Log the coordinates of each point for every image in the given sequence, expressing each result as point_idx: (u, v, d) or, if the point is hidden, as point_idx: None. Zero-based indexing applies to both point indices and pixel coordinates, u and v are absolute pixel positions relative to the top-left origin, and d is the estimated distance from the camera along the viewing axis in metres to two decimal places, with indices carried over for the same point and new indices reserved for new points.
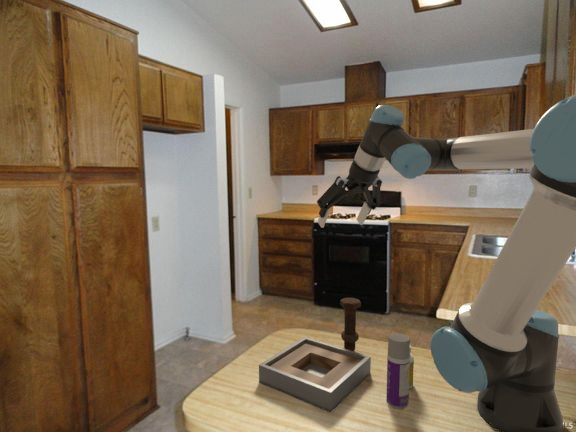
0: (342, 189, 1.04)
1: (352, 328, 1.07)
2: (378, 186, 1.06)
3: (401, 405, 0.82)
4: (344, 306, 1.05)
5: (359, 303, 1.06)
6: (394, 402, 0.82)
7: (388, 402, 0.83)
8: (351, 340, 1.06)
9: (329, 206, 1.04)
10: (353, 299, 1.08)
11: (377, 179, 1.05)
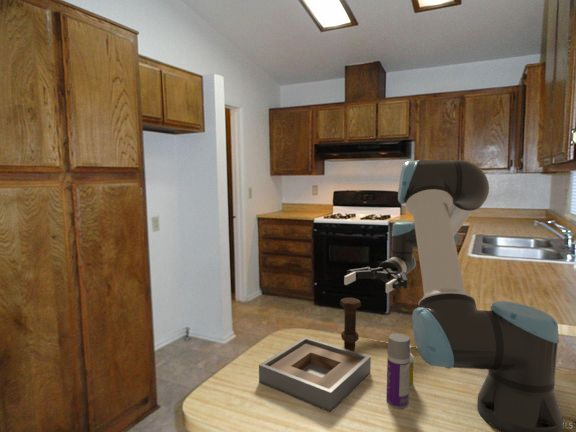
0: None
1: (352, 328, 1.07)
2: (402, 273, 1.23)
3: (401, 405, 0.82)
4: (344, 306, 1.05)
5: (359, 303, 1.06)
6: (394, 402, 0.82)
7: (388, 402, 0.83)
8: (351, 340, 1.06)
9: (355, 271, 1.25)
10: (353, 299, 1.08)
11: None
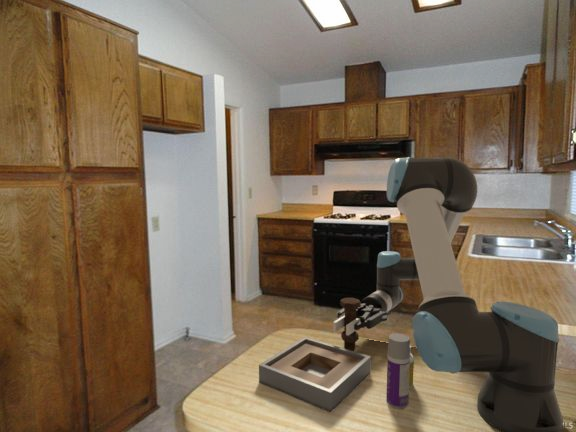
0: None
1: None
2: (381, 312, 1.12)
3: (401, 405, 0.82)
4: (344, 306, 1.05)
5: (359, 303, 1.06)
6: (394, 402, 0.82)
7: (388, 402, 0.83)
8: (351, 340, 1.06)
9: None
10: (353, 299, 1.08)
11: None
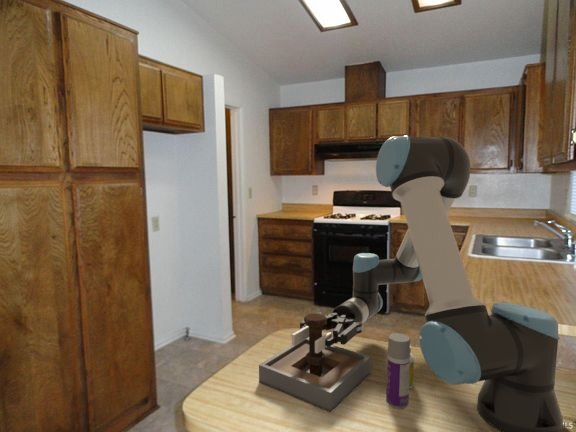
0: None
1: None
2: (355, 323, 0.98)
3: (401, 405, 0.82)
4: (307, 324, 0.91)
5: (325, 320, 0.92)
6: (394, 402, 0.82)
7: (388, 402, 0.83)
8: (316, 363, 0.92)
9: None
10: (319, 315, 0.94)
11: None
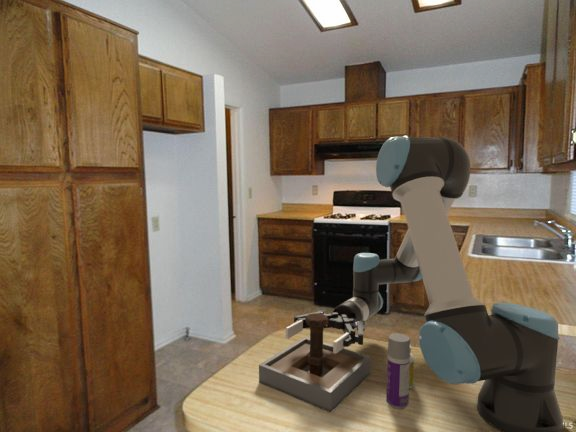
0: None
1: (318, 349, 0.92)
2: (360, 322, 0.99)
3: (401, 405, 0.82)
4: (309, 323, 0.91)
5: (326, 320, 0.92)
6: (394, 402, 0.82)
7: (388, 402, 0.83)
8: (317, 363, 0.92)
9: (303, 318, 1.01)
10: (320, 315, 0.94)
11: None
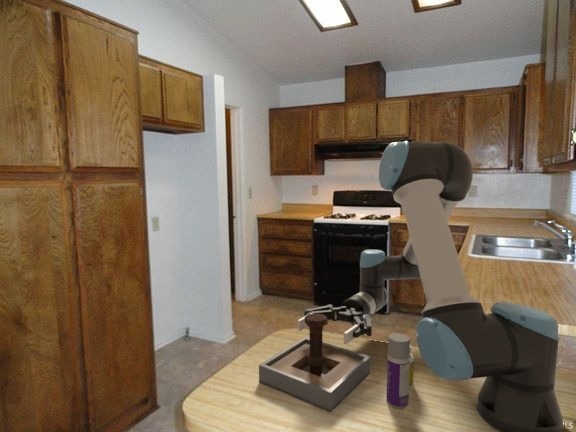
0: None
1: (318, 349, 0.92)
2: (368, 315, 1.04)
3: (401, 405, 0.82)
4: (308, 324, 0.91)
5: (326, 320, 0.92)
6: (394, 402, 0.82)
7: (388, 402, 0.83)
8: (317, 363, 0.92)
9: (313, 312, 1.06)
10: (319, 315, 0.94)
11: None
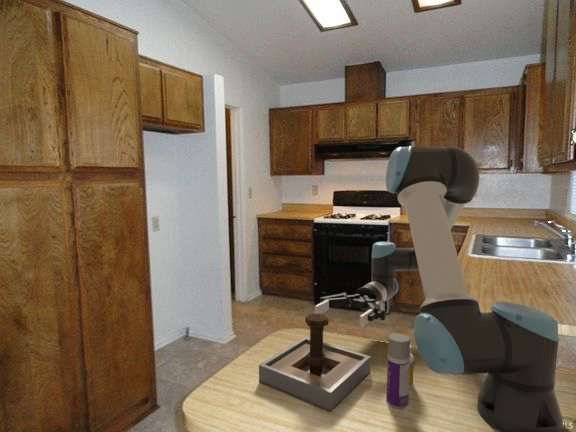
0: None
1: (318, 349, 0.92)
2: (381, 301, 1.10)
3: (401, 405, 0.82)
4: (309, 324, 0.91)
5: (326, 320, 0.92)
6: (394, 402, 0.82)
7: (388, 402, 0.83)
8: (317, 363, 0.92)
9: (329, 299, 1.12)
10: (320, 315, 0.94)
11: None
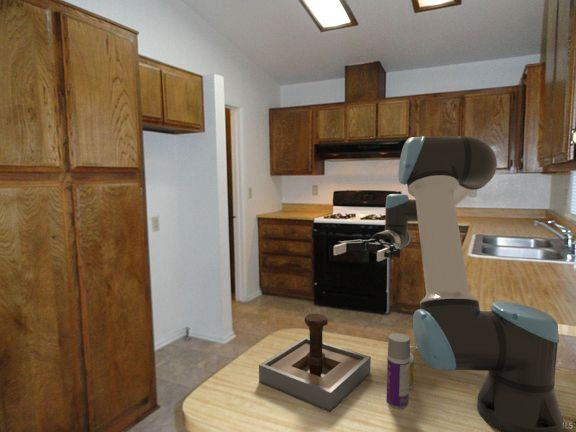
0: None
1: (318, 349, 0.92)
2: (395, 244, 1.16)
3: (401, 405, 0.82)
4: (308, 324, 0.91)
5: (326, 320, 0.92)
6: (394, 402, 0.82)
7: (388, 402, 0.83)
8: (317, 363, 0.92)
9: (346, 242, 1.19)
10: (319, 315, 0.94)
11: None
